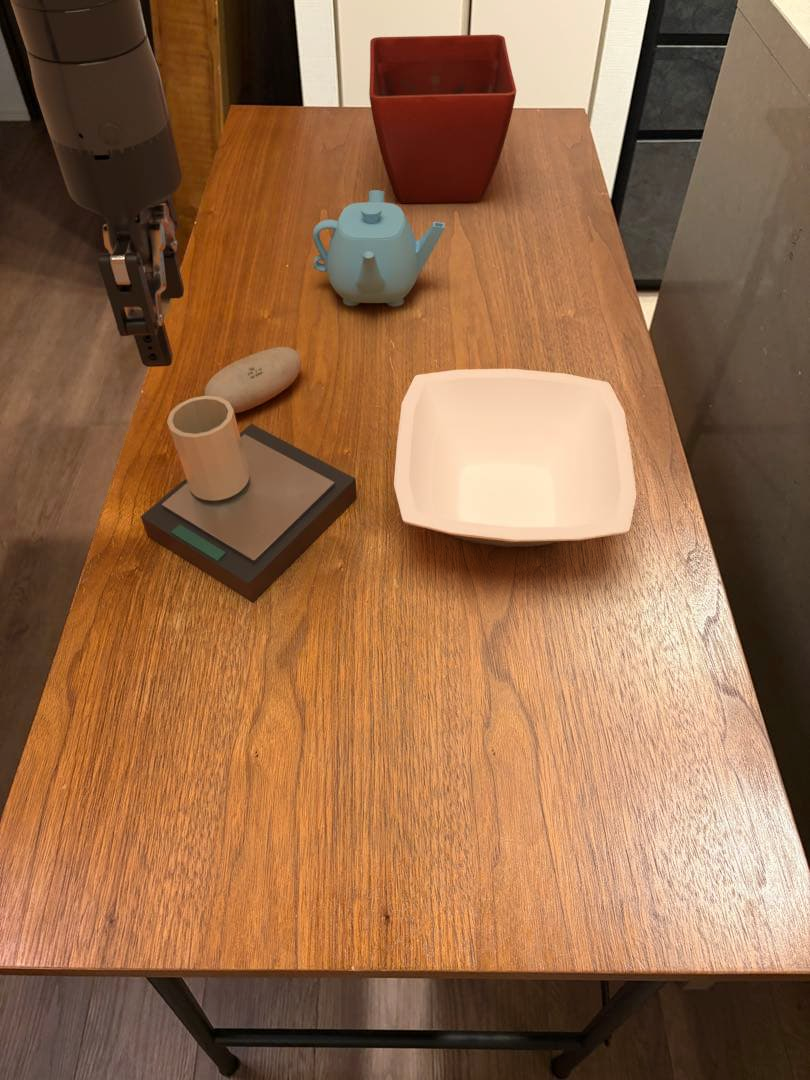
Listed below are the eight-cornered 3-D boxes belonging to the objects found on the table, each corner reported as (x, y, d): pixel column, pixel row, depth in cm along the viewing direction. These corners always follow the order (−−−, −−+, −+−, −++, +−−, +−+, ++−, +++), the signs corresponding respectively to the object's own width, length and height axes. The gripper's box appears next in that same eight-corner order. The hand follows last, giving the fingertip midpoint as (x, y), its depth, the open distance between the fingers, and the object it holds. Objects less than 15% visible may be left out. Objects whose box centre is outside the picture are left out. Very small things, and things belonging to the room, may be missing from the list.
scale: (253, 602, 79) (248, 582, 76) (147, 536, 84) (139, 514, 81) (357, 498, 87) (355, 476, 85) (255, 443, 92) (250, 421, 90)
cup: (217, 509, 81) (197, 445, 75) (175, 484, 83) (153, 420, 78) (262, 475, 84) (246, 410, 78) (220, 451, 86) (202, 387, 81)
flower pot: (373, 216, 121) (368, 94, 108) (374, 152, 134) (370, 35, 120) (506, 215, 122) (517, 93, 108) (495, 150, 134) (504, 34, 121)
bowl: (604, 431, 93) (619, 371, 87) (625, 601, 79) (645, 545, 72) (405, 423, 94) (404, 363, 88) (389, 590, 80) (387, 533, 73)
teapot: (454, 293, 109) (457, 212, 101) (371, 336, 104) (367, 254, 95) (380, 244, 117) (377, 164, 108) (299, 282, 111) (289, 201, 103)
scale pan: (254, 564, 78) (253, 560, 77) (162, 508, 82) (160, 504, 82) (335, 486, 84) (335, 482, 84) (245, 437, 89) (244, 433, 88)
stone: (318, 363, 97) (240, 392, 88) (299, 401, 101) (223, 432, 93) (285, 328, 98) (205, 354, 89) (268, 367, 102) (190, 396, 94)
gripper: (68, 71, 58) (129, 278, 70) (23, 175, 49) (102, 391, 61) (179, 68, 58) (220, 274, 71) (154, 171, 49) (206, 386, 62)
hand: (165, 328), depth 66 cm, fingers open, 8 cm apart
